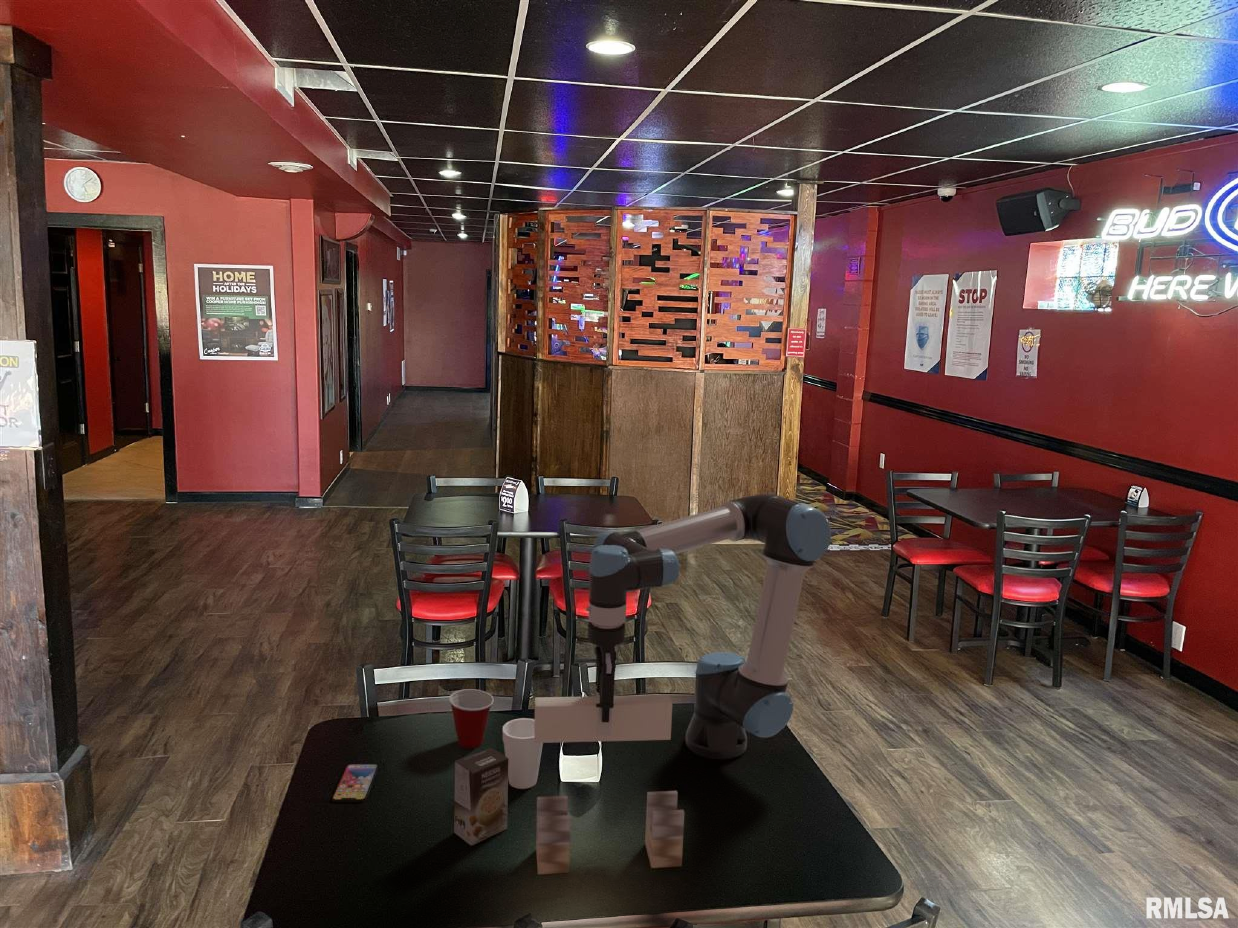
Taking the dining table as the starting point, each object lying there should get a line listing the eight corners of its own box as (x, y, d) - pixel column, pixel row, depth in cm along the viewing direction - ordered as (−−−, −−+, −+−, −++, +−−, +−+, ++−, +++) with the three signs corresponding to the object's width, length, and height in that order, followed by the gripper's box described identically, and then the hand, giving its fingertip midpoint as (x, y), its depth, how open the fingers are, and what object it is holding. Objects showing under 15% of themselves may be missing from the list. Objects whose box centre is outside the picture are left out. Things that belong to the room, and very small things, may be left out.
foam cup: (547, 771, 206) (548, 720, 203) (539, 794, 197) (540, 740, 194) (506, 768, 207) (507, 716, 204) (497, 790, 198) (497, 736, 195)
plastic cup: (493, 753, 213) (493, 707, 210) (447, 755, 211) (447, 708, 209) (494, 731, 223) (494, 686, 221) (450, 732, 222) (450, 687, 220)
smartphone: (379, 763, 206) (365, 799, 191) (379, 767, 206) (365, 803, 192) (347, 763, 206) (330, 799, 191) (347, 767, 206) (330, 803, 191)
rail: (667, 730, 188) (669, 694, 186) (670, 739, 184) (672, 703, 183) (534, 733, 185) (535, 697, 183) (534, 742, 181) (535, 706, 179)
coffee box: (471, 847, 177) (471, 773, 174) (453, 832, 182) (453, 760, 179) (508, 828, 184) (509, 757, 181) (490, 815, 188) (490, 745, 185)
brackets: (674, 842, 181) (676, 790, 179) (681, 865, 174) (684, 812, 171) (536, 849, 177) (537, 796, 175) (537, 874, 170) (538, 819, 168)
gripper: (584, 607, 187) (581, 709, 192) (592, 638, 171) (588, 750, 175) (620, 606, 188) (616, 708, 193) (630, 638, 172) (626, 749, 176)
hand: (603, 728), depth 184 cm, fingers closed on rail, 4 cm apart
